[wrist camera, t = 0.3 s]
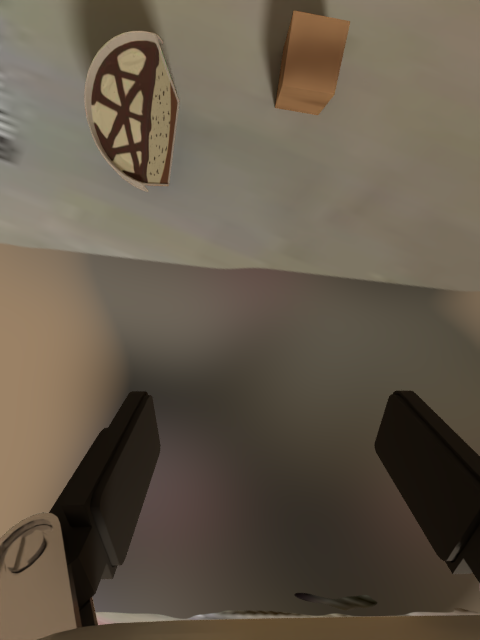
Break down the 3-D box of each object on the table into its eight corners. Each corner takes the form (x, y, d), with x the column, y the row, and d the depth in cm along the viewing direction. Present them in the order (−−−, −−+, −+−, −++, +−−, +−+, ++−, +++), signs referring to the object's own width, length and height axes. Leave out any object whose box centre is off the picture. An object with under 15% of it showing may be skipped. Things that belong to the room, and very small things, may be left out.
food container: (129, 69, 28) (77, -4, 19) (181, 86, 29) (155, 24, 20) (122, 185, 33) (77, 172, 24) (167, 197, 34) (141, 190, 24)
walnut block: (283, 48, 28) (293, 10, 23) (329, 56, 28) (350, 21, 23) (274, 108, 30) (282, 85, 25) (317, 115, 30) (334, 94, 25)
